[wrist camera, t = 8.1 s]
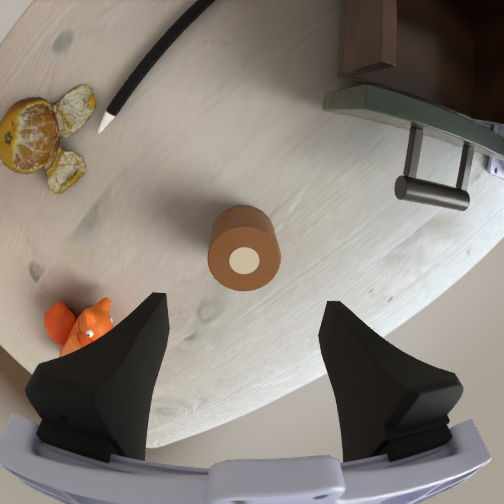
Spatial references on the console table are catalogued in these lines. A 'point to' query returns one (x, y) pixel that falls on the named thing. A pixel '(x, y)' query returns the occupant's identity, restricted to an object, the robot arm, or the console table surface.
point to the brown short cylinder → (243, 249)
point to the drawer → (426, 80)
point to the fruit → (46, 136)
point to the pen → (152, 60)
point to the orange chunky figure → (77, 325)
